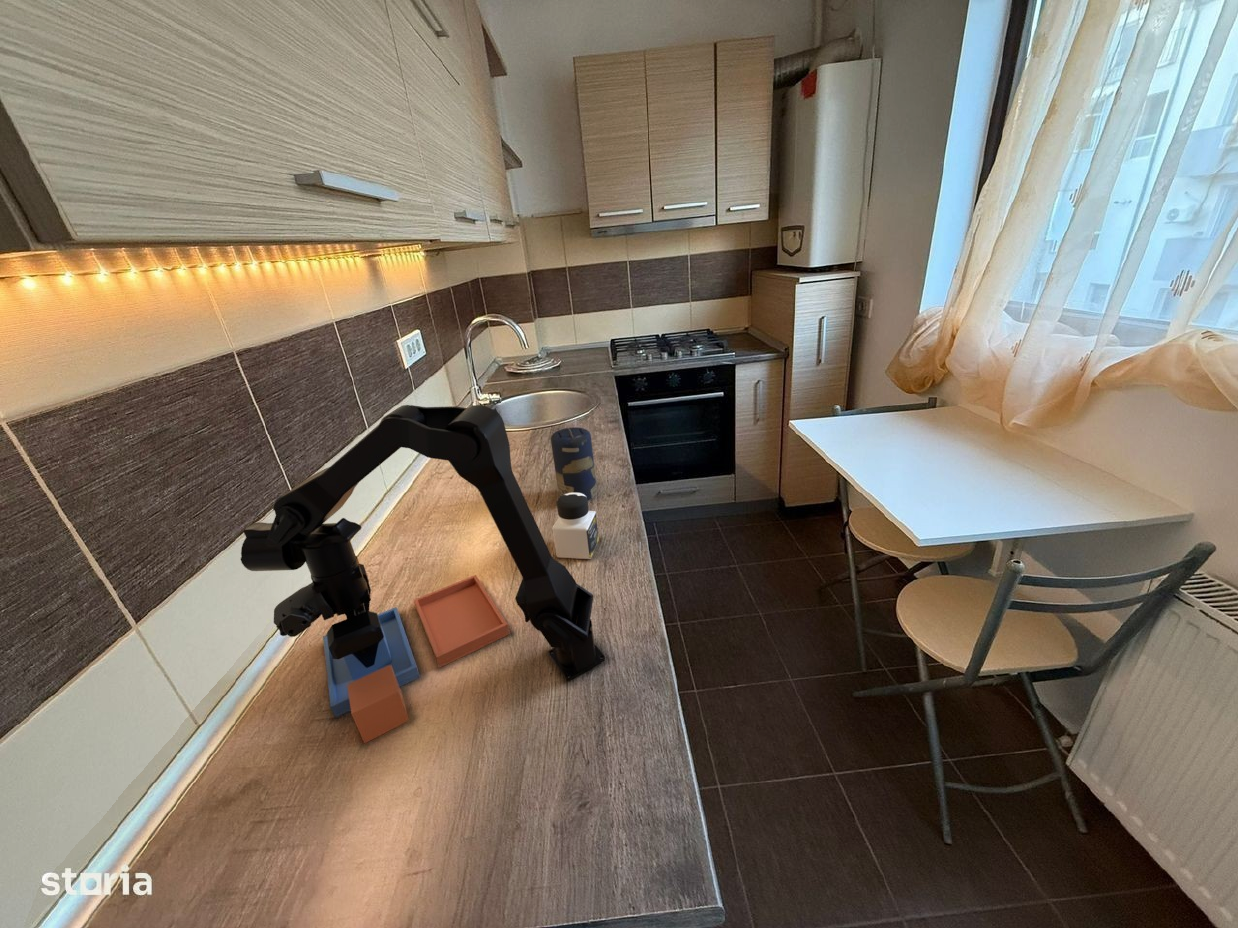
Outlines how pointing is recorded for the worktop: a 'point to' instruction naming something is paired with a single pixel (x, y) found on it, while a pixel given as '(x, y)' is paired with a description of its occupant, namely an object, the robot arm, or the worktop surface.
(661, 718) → the worktop surface
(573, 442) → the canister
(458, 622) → the terracotta tray
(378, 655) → the blue block
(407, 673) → the blue tray
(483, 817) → the worktop surface
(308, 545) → the robot arm
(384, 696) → the terracotta block
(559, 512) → the medicine bottle
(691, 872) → the worktop surface
